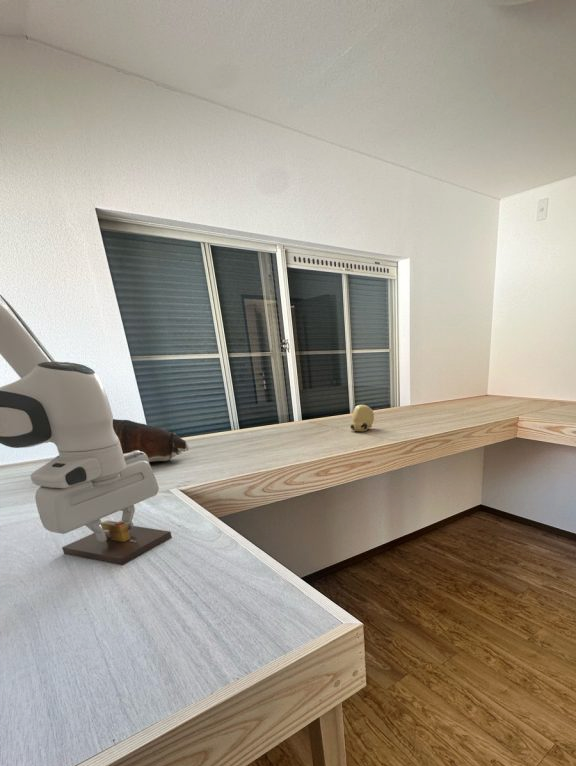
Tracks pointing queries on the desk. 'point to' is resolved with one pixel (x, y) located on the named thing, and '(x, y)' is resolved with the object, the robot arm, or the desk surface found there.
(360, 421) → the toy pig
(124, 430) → the brown tapered piece
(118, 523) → the lock turn
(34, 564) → the desk surface
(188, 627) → the desk surface
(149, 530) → the plate
